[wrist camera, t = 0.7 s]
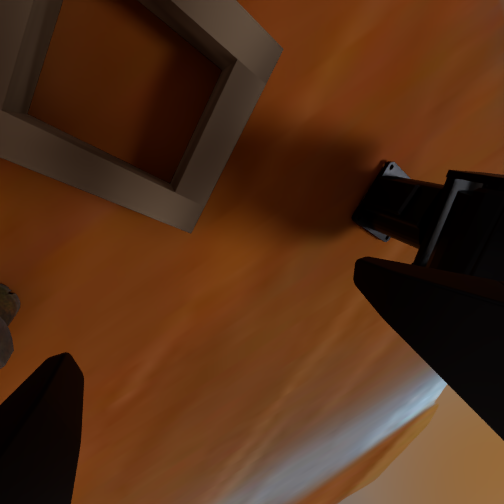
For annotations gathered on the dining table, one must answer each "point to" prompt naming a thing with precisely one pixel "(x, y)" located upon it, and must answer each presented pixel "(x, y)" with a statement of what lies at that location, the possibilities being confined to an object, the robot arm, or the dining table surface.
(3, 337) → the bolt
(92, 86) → the dining table surface
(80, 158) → the socket block
